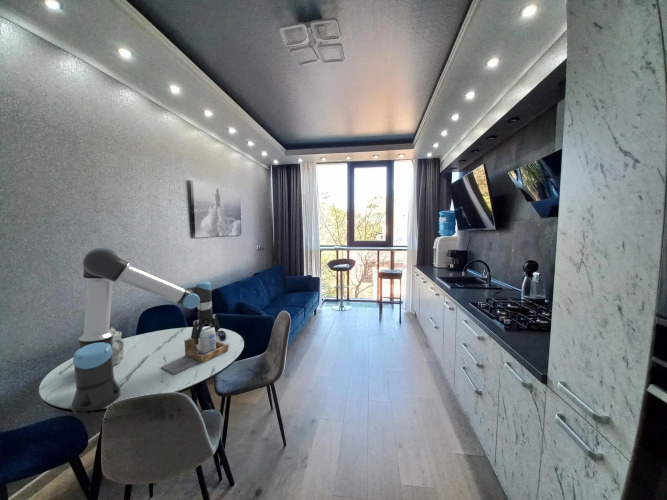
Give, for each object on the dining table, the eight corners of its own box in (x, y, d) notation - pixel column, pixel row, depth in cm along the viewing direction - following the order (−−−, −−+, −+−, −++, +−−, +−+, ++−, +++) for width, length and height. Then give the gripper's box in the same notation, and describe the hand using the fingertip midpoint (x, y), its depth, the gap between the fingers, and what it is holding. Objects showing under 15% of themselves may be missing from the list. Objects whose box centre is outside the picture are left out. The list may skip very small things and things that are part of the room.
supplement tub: (213, 356, 145) (212, 331, 144) (195, 358, 143) (194, 333, 142) (217, 348, 155) (216, 325, 153) (200, 350, 152) (199, 326, 151)
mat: (174, 374, 126) (174, 373, 126) (161, 367, 133) (161, 366, 133) (199, 363, 138) (199, 361, 138) (185, 357, 144) (185, 356, 144)
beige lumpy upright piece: (104, 373, 128) (101, 338, 126) (81, 370, 131) (78, 335, 129) (136, 357, 144) (133, 325, 143) (114, 355, 147) (112, 324, 146)
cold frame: (202, 363, 138) (201, 346, 137) (185, 355, 146) (184, 339, 145) (228, 350, 152) (227, 335, 151) (211, 344, 160) (210, 329, 159)
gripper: (189, 315, 135) (191, 355, 137) (225, 304, 154) (227, 339, 156) (181, 312, 139) (184, 351, 141) (217, 302, 158) (219, 337, 160)
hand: (206, 345), depth 148 cm, fingers closed on supplement tub, 9 cm apart
